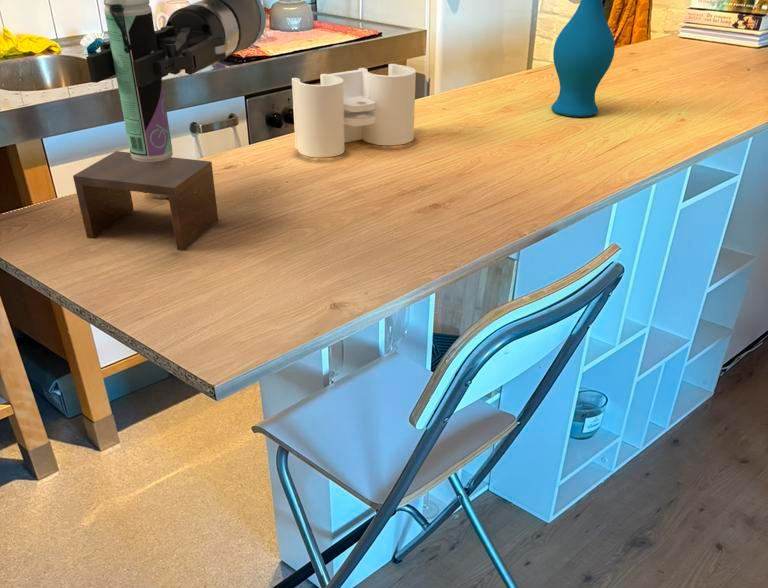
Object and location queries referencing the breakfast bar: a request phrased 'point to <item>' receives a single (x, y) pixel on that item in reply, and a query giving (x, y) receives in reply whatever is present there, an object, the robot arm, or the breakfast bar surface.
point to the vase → (582, 59)
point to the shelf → (166, 177)
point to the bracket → (354, 110)
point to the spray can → (139, 104)
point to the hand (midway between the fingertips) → (114, 72)
